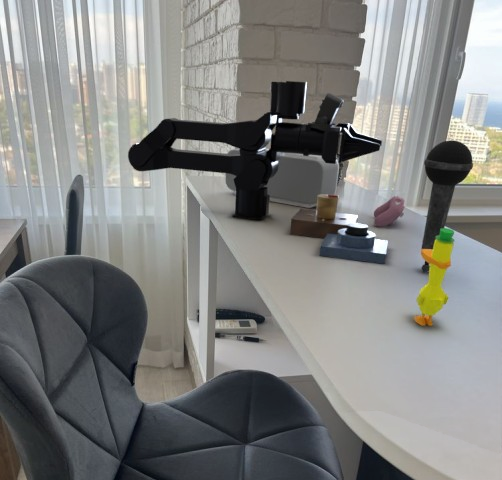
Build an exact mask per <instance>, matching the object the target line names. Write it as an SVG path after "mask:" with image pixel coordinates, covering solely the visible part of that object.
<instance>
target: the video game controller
mask: <svg viewBox="0 0 502 480" xmlns="http://www.w3.org/2000/svg"><path fill="white" fill-rule="evenodd" d="M404 210H405V199H404V198H403V197H401V196H398V195H397V196H395V195H394V196H392V197H391V198H389V199H388V201H386V202H385V203H383V204H382V205H380V206H378V207H377V208H376V209H375V210H374V211H373V217H374V221H373V223H374V226H375V227H378V228H379V227H380V228H381V227H385V226H388V225H389V226H391V225H392V224H393V223H394V222H395V221H397V220H398V219H399V218H401V219H402V218H403V217H404V215H405V212H404Z"/></svg>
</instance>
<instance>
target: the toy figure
mask: <svg viewBox="0 0 502 480" xmlns="http://www.w3.org/2000/svg"><path fill="white" fill-rule="evenodd" d="M454 234H455V230H453V229H451V228H448V227H447V228H446V227H444V228H442V229H440V235H437V236H436V237H435V238H436V240H435V242H434V247H433V249H421V248H420V249H421V250H420V256H421V258H422V259H423V260H424V262H425V261H426V262H428V263H429V266H430V270H429V271H428V282H427V283H426V284H425V285H424V286H423V287H422V288H420V289H419V294H418V296H416V298H415V299H416V302H417V305H418V308H419V310H420V312H421V315H415V316H414V319H413V320H414V322H415V323H417V325H418V324H419V325H420V326H422V327H424V326H426V325H427V326H429V327H430V326H431V327H432V326H433V324H434V323H433V320H432V319H433V316H434V315H437V314H438V313H439V311H441V310H442V309H443V307H444V305H447V304H448V300H449V295H448V294H447V293H446V292H445V291H444V290H443V286H442V284H443V281H444V278H445V275H446V272H447V270H448V268H450V267H451V266H452V259H451V256H452V251H453V248H454V242H455V239H454V238H453V237H454Z"/></svg>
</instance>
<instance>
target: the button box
mask: <svg viewBox="0 0 502 480" xmlns="http://www.w3.org/2000/svg"><path fill="white" fill-rule="evenodd" d="M346 230H347V228H344V229H340V230H338V232H337V234H328V233H327V235H326V237H325V238H323V240H322V242H321V244H320V247H319V256H321V257H328V258H335V259H336V258H337V259H343V260H351V261H360V262H367V263H375V264H386V258H387V251H388V243H389V242H388V240H387V239H377V238H376V235H377V234H376V233H374V232H372V231H371V230H368V231H367V236H352V235H348V234H346Z"/></svg>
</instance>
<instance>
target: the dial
mask: <svg viewBox="0 0 502 480" xmlns="http://www.w3.org/2000/svg"><path fill="white" fill-rule="evenodd" d="M338 204H339V195H338V194H335V195H329V194H320V195H318V198H317V206H315V207H316V208H315V210H316V217H318V218H323V219H334V218H336V213H338V212H337V211H338Z"/></svg>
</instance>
